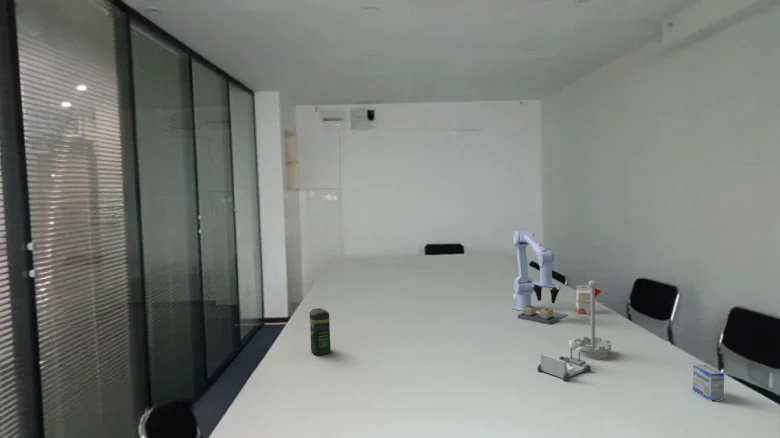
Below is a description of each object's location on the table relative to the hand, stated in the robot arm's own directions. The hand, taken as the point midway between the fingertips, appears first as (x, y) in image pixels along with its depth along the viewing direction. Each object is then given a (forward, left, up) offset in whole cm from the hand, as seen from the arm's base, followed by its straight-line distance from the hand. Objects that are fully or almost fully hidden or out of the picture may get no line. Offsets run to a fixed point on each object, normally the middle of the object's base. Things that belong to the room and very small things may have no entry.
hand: (546, 301), depth 233 cm
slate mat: (-2, +12, -10) cm, 16 cm away
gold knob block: (0, 0, -10) cm, 10 cm away
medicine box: (+79, -42, -10) cm, 90 cm away
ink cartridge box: (+7, +27, -10) cm, 30 cm away
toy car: (+38, -53, -11) cm, 66 cm away
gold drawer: (-10, 0, -10) cm, 14 cm away
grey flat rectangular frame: (-5, 0, -10) cm, 11 cm away
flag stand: (+37, -30, -10) cm, 49 cm away
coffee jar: (-48, -104, -10) cm, 115 cm away
